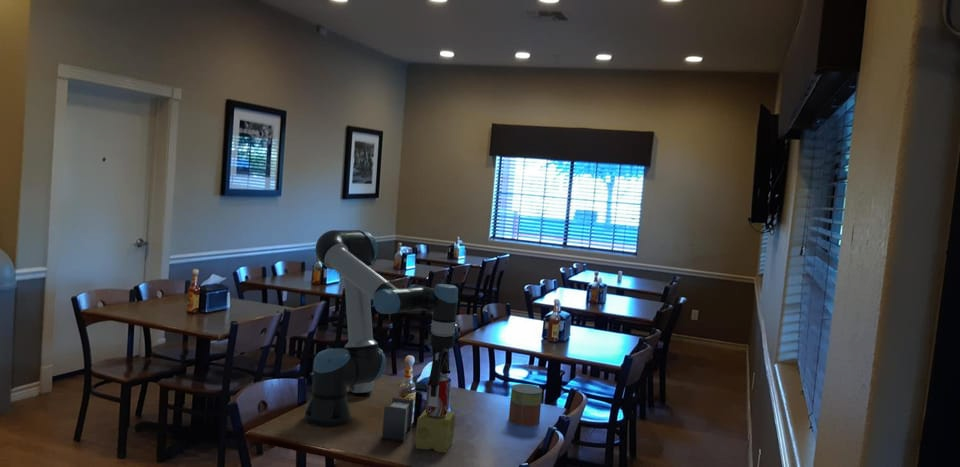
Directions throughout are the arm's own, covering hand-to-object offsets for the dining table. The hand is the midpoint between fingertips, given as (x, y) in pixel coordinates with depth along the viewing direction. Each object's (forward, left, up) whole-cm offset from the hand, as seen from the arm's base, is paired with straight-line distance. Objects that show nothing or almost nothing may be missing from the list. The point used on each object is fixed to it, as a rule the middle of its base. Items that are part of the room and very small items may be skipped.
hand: (437, 399), depth 219 cm
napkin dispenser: (-13, +3, -15) cm, 20 cm away
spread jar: (-40, +40, -15) cm, 59 cm away
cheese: (0, 0, -15) cm, 15 cm away
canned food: (+26, +34, -15) cm, 45 cm away
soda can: (0, 0, -5) cm, 5 cm away
